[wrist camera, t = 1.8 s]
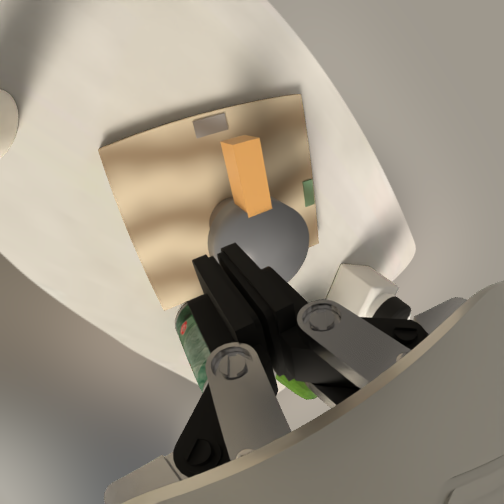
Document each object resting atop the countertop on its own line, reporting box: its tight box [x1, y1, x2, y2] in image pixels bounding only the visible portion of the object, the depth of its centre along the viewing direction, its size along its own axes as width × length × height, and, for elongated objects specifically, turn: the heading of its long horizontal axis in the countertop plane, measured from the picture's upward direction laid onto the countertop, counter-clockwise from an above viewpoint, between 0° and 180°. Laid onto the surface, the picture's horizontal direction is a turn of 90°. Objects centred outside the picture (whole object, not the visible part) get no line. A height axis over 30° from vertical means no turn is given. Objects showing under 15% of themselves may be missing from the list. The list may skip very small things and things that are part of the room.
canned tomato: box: [175, 295, 276, 393], centre depth 31 cm, size 8×8×11 cm
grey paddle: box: [208, 135, 309, 282], centre depth 24 cm, size 13×8×3 cm, turn 12°
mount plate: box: [98, 94, 319, 311], centre depth 28 cm, size 18×20×6 cm
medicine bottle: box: [326, 264, 411, 320], centre depth 40 cm, size 7×7×12 cm
